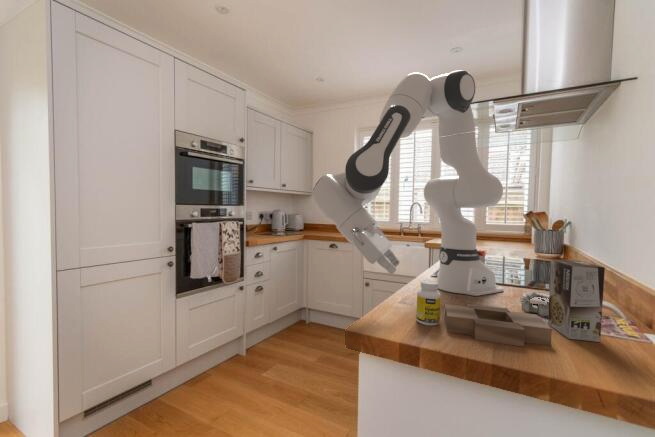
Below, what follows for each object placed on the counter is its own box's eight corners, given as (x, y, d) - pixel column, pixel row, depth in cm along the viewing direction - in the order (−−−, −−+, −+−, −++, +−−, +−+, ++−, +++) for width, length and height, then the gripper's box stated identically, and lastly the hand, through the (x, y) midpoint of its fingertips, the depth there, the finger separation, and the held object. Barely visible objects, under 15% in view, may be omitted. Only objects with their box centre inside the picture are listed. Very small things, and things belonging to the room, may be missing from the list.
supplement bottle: (423, 327, 71) (425, 285, 70) (412, 318, 76) (413, 279, 76) (444, 325, 72) (446, 284, 72) (431, 317, 77) (432, 279, 77)
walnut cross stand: (443, 314, 80) (444, 301, 79) (532, 325, 73) (533, 311, 73) (447, 335, 66) (447, 319, 66) (555, 351, 60) (556, 333, 60)
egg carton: (547, 318, 79) (548, 303, 79) (516, 310, 85) (517, 295, 85) (563, 311, 85) (563, 296, 85) (532, 303, 92) (533, 290, 91)
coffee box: (602, 342, 65) (606, 267, 64) (567, 339, 66) (571, 265, 65) (576, 326, 74) (580, 260, 73) (546, 323, 75) (550, 258, 74)
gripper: (359, 220, 68) (402, 267, 65) (374, 218, 88) (408, 254, 85) (339, 239, 70) (381, 286, 67) (358, 232, 89) (391, 268, 86)
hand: (396, 268), depth 76 cm, fingers open, 8 cm apart
